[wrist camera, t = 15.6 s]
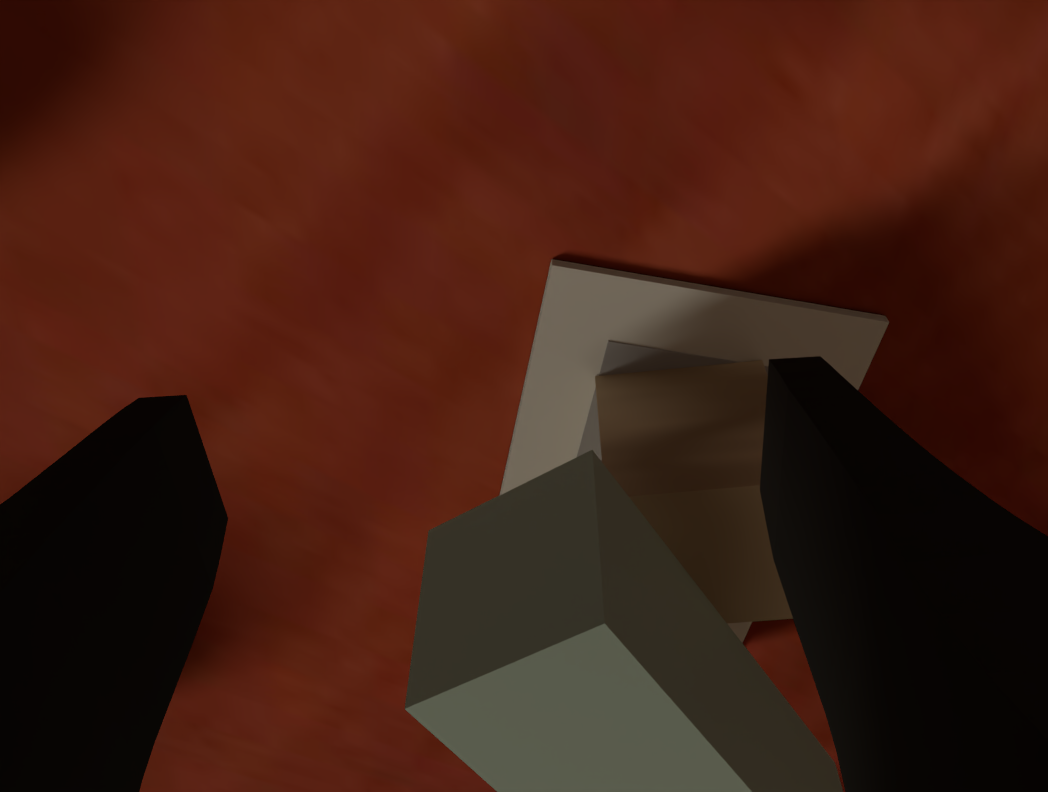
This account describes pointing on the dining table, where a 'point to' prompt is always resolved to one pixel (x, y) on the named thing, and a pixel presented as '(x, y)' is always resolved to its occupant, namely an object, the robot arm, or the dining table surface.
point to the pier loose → (698, 475)
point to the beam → (592, 655)
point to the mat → (657, 350)
